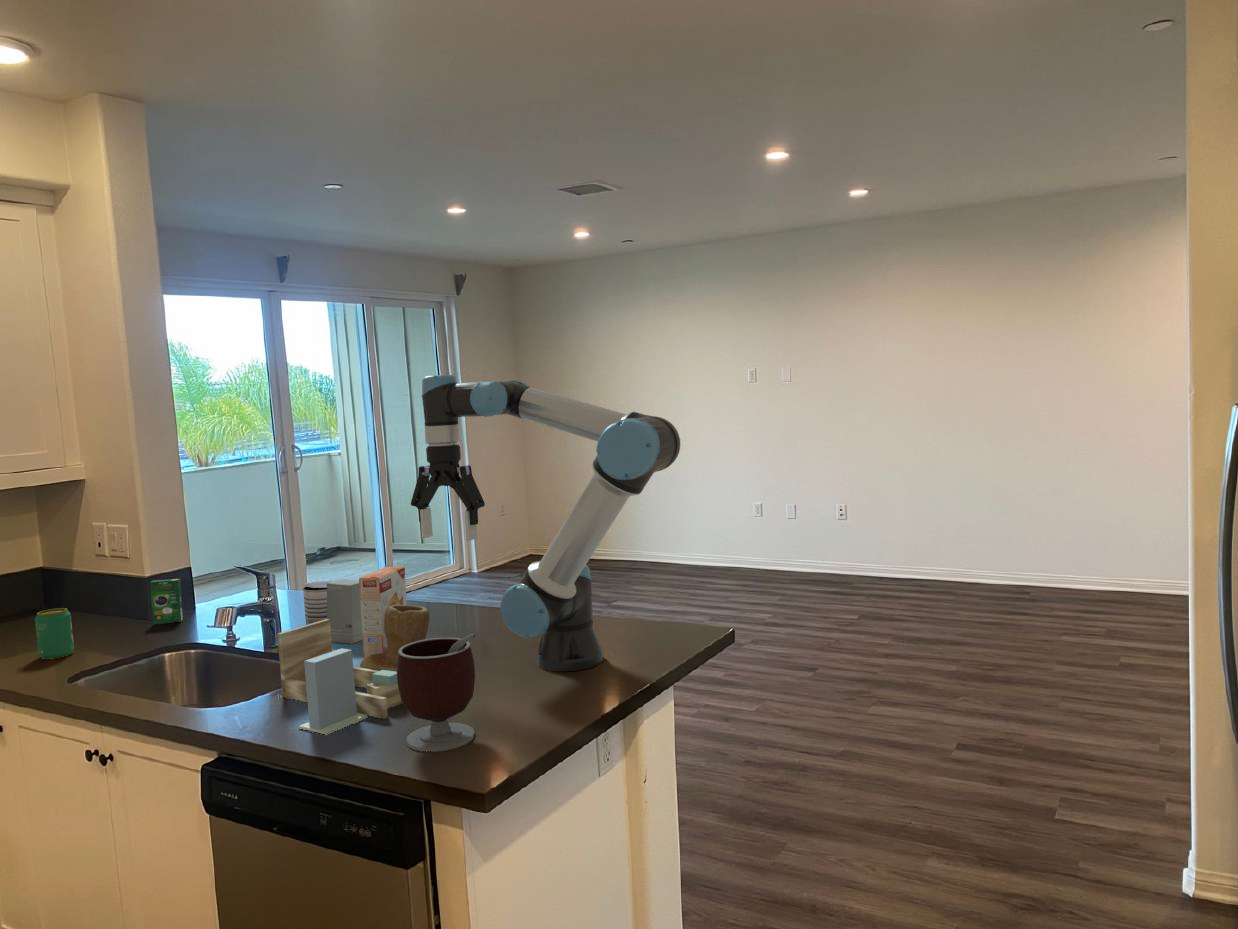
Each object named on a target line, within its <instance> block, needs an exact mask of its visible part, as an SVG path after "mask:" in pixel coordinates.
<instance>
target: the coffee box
mask: <svg viewBox="0 0 1238 929" xmlns="http://www.w3.org/2000/svg"><path fill="white" fill-rule="evenodd" d="M149 585H150V597H151V612H152V625H153V626H155V625H156V624H157V625H164V624H165V625H166V623H167V624H175V623H174V622H179V623H182V622H183V621H184V618H183V603H182V602H183V601H182V600H183V599H182V587H181V585H182V584H181V578H172V579H156V580H155V579H154V580H151V581H150V583H149ZM182 620H183V621H182Z"/></svg>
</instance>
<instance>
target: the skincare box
mask: <svg viewBox="0 0 1238 929" xmlns="http://www.w3.org/2000/svg"><path fill="white" fill-rule="evenodd" d="M331 581H332V582H329V583H327V619H330V625H331V638H332V644H334V643H335V644H336V643H337V644H350V645H352V644H353V645H354V644H355V643H359V642H360V641H363V640H362V639H363V636H362V620H361V604H360V588H359V580H356V579H337V580H331Z"/></svg>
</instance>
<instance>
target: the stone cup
mask: <svg viewBox="0 0 1238 929" xmlns="http://www.w3.org/2000/svg"><path fill="white" fill-rule="evenodd" d="M430 617H431V616H430V612H429V610H428V609H427V608H426V607H424V606H419V605H408V604H407V605H403V606H402V605H392V606H389V607H388V608H387V610H386V612H385V615H384V629H385V635H386V640H387V645H388V650H387V651H386V652H385V653H379V654H373V655H370V656H368V657H366V658H365V659H364V658H363V659H362V660H361V661H360V663H359V667H360V668H365V669H371V670H377V671H381V670H388V671H396V672H397V661H398V655H399V653H398V651H399V649H400V648H401V647H403V646H404V645H407V644H409V643H412V642H416V641H420V640H425V639H426V638H427V634H428V631H429V624H430Z"/></svg>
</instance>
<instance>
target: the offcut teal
mask: <svg viewBox="0 0 1238 929" xmlns="http://www.w3.org/2000/svg"><path fill="white" fill-rule="evenodd" d="M377 671H378V672H376V673H373V674H372V680H373V684H380V685H387V686H392V685H395V684H397V672H396V671H388V670H381V671H380V670H377Z"/></svg>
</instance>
